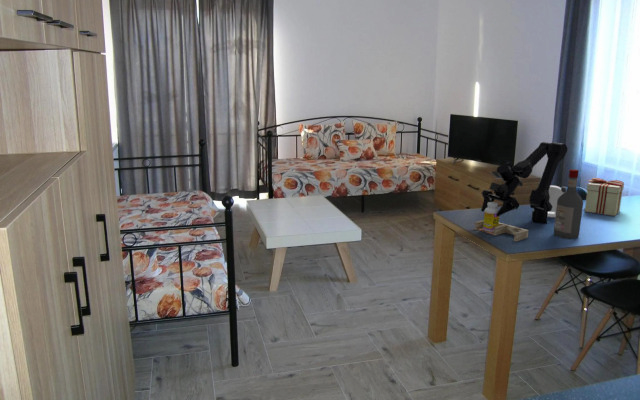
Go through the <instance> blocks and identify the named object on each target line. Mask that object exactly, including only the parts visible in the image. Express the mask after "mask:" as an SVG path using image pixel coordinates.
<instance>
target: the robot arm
mask: <svg viewBox="0 0 640 400" xmlns="http://www.w3.org/2000/svg"><path fill="white" fill-rule="evenodd" d="M568 149H569V148H568V146H567V145H566V143H562V142H554V141H553V142H552V141H551V142H546V141H543V142H540V143H539V145H538V147H536V148H535V149H534V150H533V152H531V153H530V154H529V155H528V156H527V157H526V158H525V159H524V160H522V161H518V162H517V163H516V164H514V165H513V166H512V165H511V163H510V162H505V163H504V164H500V165H499V166H498V167H496V173H497V174H498V176H499V177H500V178H501V180H502V181H503V183H501V184H499V183H496V182H491V183H490V186H489V188H488V189H489V190H487V189H483V190H482V191H481V193H480V194H481V196H482V198H483V203H482V205H481V210H480V211H481V212H485V209H486V208H488V205H487V204H488V202H495V200H496V201H499V202H501V203H502V205H501V207H500V209H499V211H498V213H497V214H496V216H499V217H500V216H502V215H504V214H506V213H509V212H511V211H514V210H516V211H517V210H518V209H519V207H520V203H519V201H518V200H517V199H516V197H513V196H514V195H515V190H516V189H517V188H518V187H523V185H524V184H523V180H522V179H528V178H529V176H530V175H531V174H532V173H533V168H534V167H535V166H536V165H537V164H538V163H539V162H540V161H541V160H542V159H543V158H544V157H545V156H546V157H547V161H546V165H545V167H544V169H543V172H542V176H541V177H540V181H539V183H538V186H537V188H536V189H532V190H531V193H530V195H529V200H528V201H529V206H530V209H533V210H532V211H531V221H532V223H535V224H548V217H547V215H548V212H550V211H551V210H552V205H551V204H550V202H549V199H550V195H549V188H550V186H552V182H553V179H554V177H555V173H556V171H557V169H558V168H557V167H558V165H559V163H560V162H562V160H563V159H564V158H565V157H566V155H567V152H568ZM492 191H493V192H492Z"/></svg>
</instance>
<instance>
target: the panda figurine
mask: <svg viewBox="0 0 640 400" xmlns="http://www.w3.org/2000/svg"><path fill="white" fill-rule="evenodd" d="M566 191H567V187H566V186H561V187H560V186H557V185H550V188H549V195H550V199H549V202H550V204H551V205H552V210H551V211H550V212H548V215H547V218H555V217H556V208H557V200H558V198H559V197H560V196H561V195H562V194H563V193H565V192H566Z"/></svg>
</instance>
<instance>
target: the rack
mask: <svg viewBox="0 0 640 400" xmlns="http://www.w3.org/2000/svg"><path fill="white" fill-rule="evenodd" d="M483 224H484V219H482V220H477V221H475V222H474V230H475V231H479V232H483V233H487V234H491V235H493V236H498V235H502V234H505V233H506V234H509V235H512V236H514V237H513V241H514V242H518V241H522V240H525V239H528V237H529V229H526V228H525V229H524V228H521V227H517V226H514V225H510V224H506V223H502V222H500V221H499V226H498V227H494V232H488V231H485V230H484V229H483Z"/></svg>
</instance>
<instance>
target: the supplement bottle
mask: <svg viewBox="0 0 640 400" xmlns="http://www.w3.org/2000/svg"><path fill="white" fill-rule="evenodd" d="M487 205H488V208H486V209H485V210H484V215H483V220H484V224H483V229H484V230H485V231H488V232H494V227H498V226H499V222H500V216H496V214H497V213H498V211H499V210H500V209H499V208H498V207H499V203H498V202H495V201H493V202H488V204H487Z"/></svg>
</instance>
